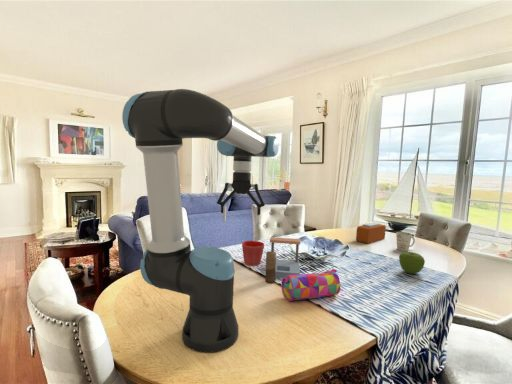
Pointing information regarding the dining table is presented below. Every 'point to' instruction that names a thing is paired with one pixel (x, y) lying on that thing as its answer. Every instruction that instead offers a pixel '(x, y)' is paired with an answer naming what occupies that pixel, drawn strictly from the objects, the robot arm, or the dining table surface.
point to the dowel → (270, 267)
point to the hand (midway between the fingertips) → (240, 221)
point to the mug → (404, 241)
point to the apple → (411, 262)
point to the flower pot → (252, 252)
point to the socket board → (286, 266)
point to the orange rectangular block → (370, 233)
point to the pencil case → (310, 285)
